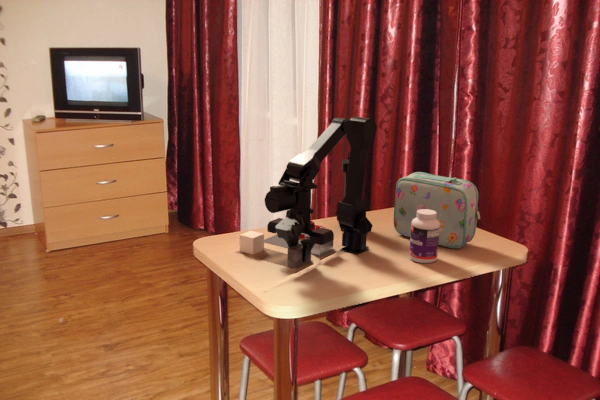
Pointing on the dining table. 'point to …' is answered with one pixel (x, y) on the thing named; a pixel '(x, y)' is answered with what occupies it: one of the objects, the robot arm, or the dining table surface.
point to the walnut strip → (283, 257)
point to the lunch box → (438, 206)
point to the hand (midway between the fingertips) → (299, 260)
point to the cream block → (251, 242)
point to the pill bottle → (424, 237)
